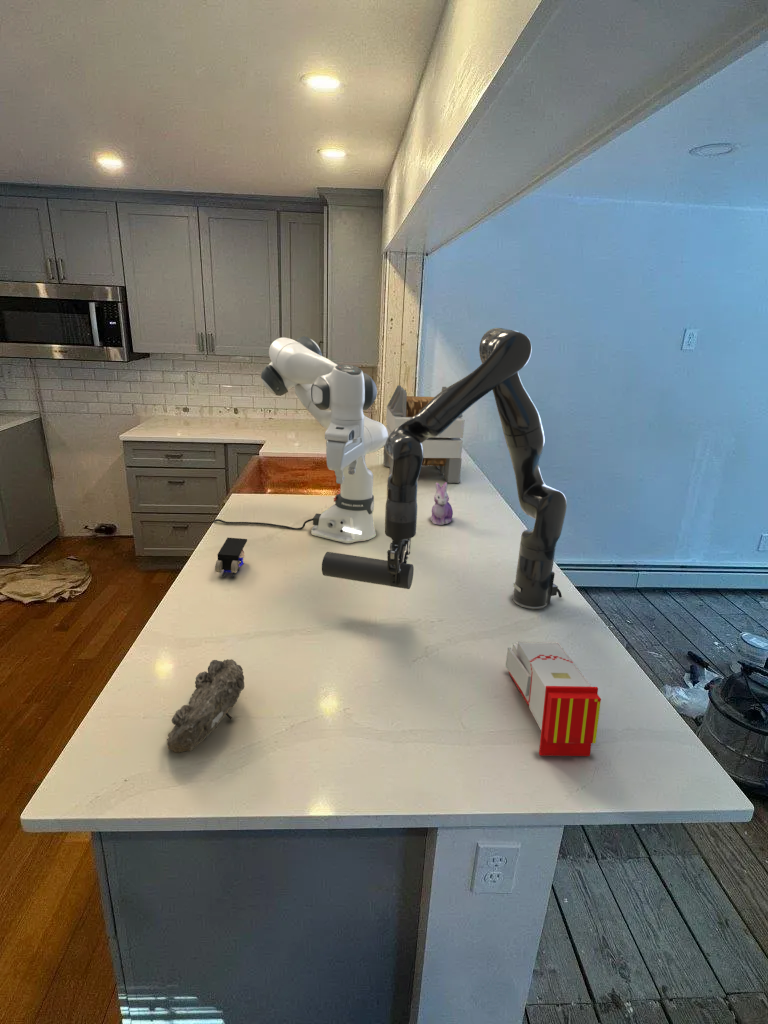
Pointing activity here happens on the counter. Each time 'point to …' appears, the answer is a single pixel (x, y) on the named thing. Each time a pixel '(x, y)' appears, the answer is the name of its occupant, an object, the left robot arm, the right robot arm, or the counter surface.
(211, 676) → the fossil
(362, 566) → the rod
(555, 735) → the toy
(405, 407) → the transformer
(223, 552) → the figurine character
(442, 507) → the figurine
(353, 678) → the counter surface
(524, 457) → the right robot arm
